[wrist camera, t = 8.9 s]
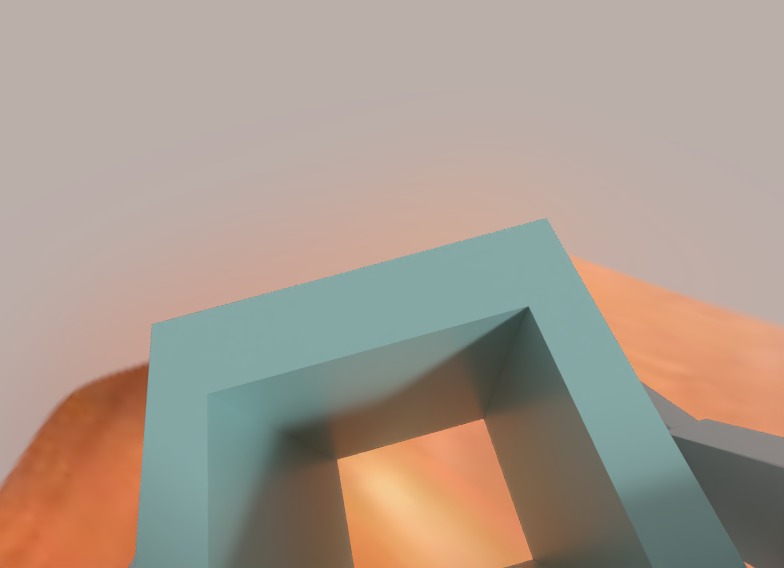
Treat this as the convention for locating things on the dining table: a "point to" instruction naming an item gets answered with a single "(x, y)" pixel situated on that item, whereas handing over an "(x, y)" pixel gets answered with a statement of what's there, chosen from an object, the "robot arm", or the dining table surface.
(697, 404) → the dining table surface
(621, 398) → the teal square hollow box
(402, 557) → the dining table surface
